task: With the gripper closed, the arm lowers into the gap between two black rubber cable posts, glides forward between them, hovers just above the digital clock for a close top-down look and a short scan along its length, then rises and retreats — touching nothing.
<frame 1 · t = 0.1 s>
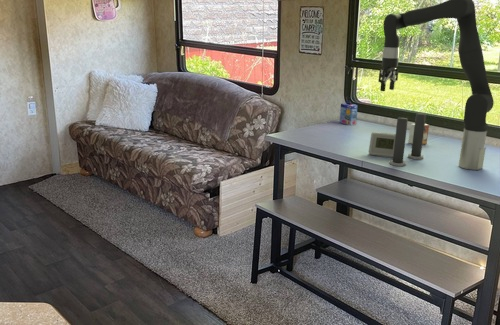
hand: (387, 90, 244), 29 cm above the table, fingers open, 8 cm apart
post right: (415, 157, 236), on the table
small box: (417, 143, 263), on the table
post left: (397, 164, 224), on the table
ink cartridge box: (347, 123, 309), on the table
digital clock: (385, 156, 238), on the table
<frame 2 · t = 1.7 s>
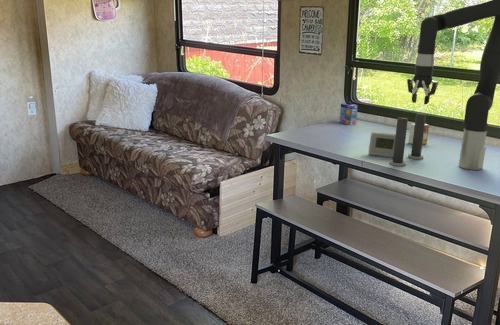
hand: (419, 103, 220), 27 cm above the table, fingers open, 5 cm apart
nothing on the table moved.
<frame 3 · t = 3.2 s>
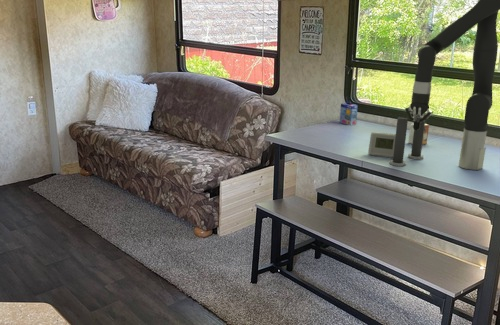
hand: (416, 129, 224), 15 cm above the table, fingers closed
nothing on the table moved.
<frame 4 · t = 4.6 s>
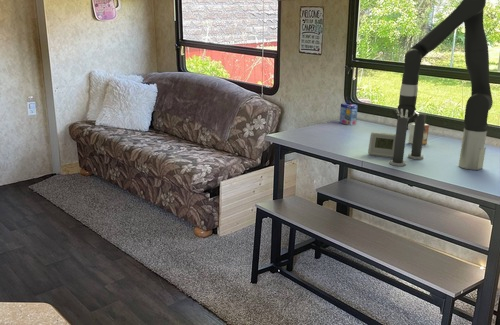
hand: (403, 131, 229), 13 cm above the table, fingers closed
nothing on the table moved.
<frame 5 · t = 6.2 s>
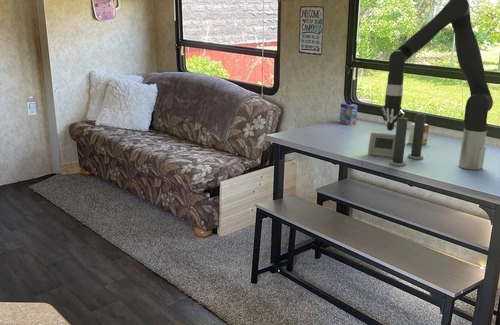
hand: (390, 130, 235), 12 cm above the table, fingers closed
nothing on the table moved.
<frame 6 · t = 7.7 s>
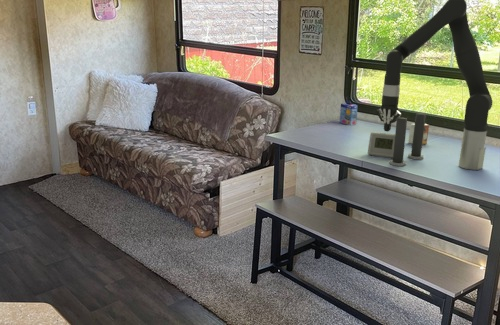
hand: (386, 131, 233), 12 cm above the table, fingers closed
nothing on the table moved.
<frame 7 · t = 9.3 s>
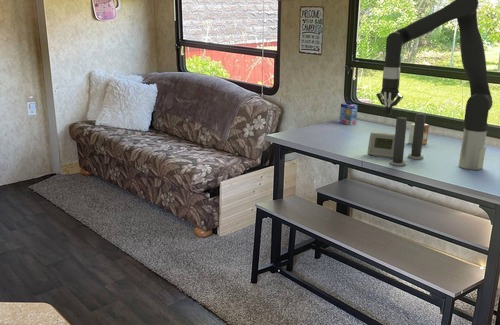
hand: (387, 114, 230), 20 cm above the table, fingers closed
nothing on the table moved.
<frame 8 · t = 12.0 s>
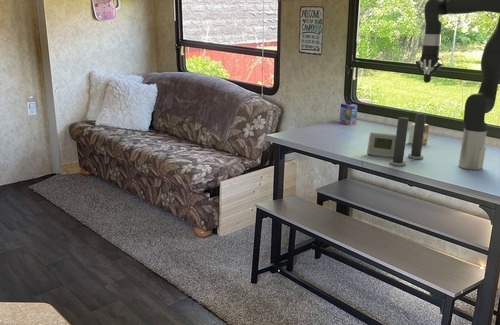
hand: (426, 82, 231), 35 cm above the table, fingers closed
nothing on the table moved.
at the end: digital clock moved 1.0 cm from its start; digital clock tilted 0°; post left moved 0.1 cm from its start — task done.
